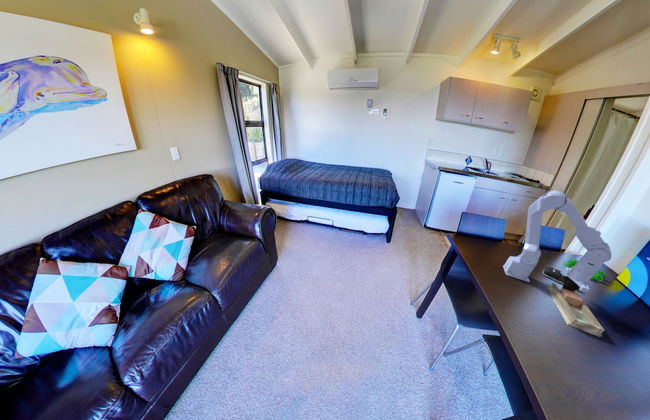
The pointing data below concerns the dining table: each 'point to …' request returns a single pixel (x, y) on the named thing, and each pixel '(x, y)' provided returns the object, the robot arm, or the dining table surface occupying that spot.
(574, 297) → the block
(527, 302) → the dining table surface
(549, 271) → the battery charger
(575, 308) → the chute
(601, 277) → the green irregular lump
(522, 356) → the dining table surface
